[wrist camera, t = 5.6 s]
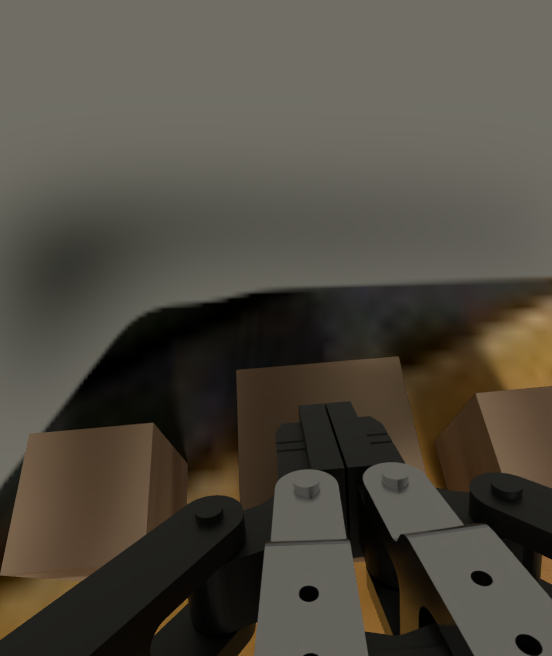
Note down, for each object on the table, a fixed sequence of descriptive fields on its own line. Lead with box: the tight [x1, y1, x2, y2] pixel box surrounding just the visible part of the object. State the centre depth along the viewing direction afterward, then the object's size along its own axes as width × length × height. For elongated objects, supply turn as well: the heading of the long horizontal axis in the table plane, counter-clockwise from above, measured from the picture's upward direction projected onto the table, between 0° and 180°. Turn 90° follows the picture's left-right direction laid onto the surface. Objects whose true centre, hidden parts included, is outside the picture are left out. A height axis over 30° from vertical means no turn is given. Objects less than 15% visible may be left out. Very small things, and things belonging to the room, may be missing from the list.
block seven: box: [0, 423, 188, 581], centre depth 20 cm, size 5×5×6 cm
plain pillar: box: [236, 357, 426, 562], centre depth 18 cm, size 6×6×10 cm
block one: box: [434, 386, 552, 492], centre depth 20 cm, size 5×5×6 cm
